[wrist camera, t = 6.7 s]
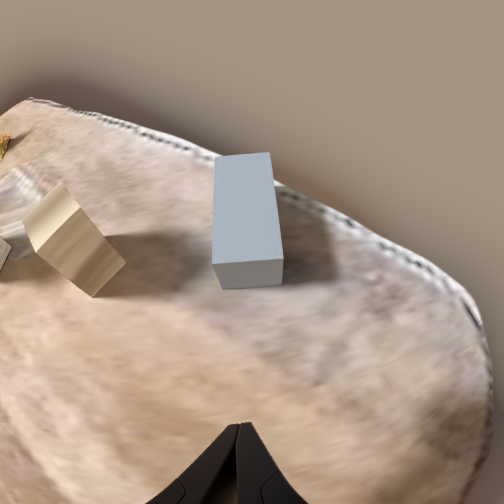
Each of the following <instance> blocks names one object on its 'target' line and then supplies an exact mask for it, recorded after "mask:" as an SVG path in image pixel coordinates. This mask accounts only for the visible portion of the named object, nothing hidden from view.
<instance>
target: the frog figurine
mask: <svg viewBox="0 0 504 504" xmlns="http://www.w3.org/2000/svg"><path fill="white" fill-rule="evenodd" d="M9 139H10V137H7V135H6V134H3V135H2V136H1V137H0V161H1V160H2V159H3V155H4V154H5V152H6V150H7V148H6V147H7V143H8V141H9Z"/></svg>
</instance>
